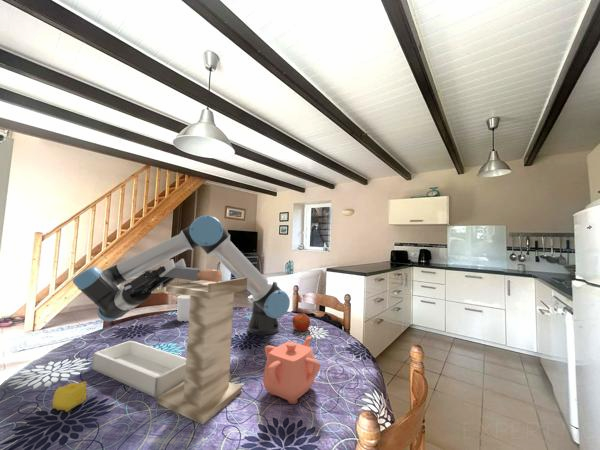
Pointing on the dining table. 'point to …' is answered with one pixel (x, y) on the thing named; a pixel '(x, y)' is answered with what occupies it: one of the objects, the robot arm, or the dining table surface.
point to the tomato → (301, 322)
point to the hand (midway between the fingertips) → (178, 263)
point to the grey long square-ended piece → (195, 274)
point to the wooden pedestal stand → (206, 350)
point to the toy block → (69, 396)
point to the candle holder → (183, 307)
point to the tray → (141, 367)
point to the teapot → (290, 370)
